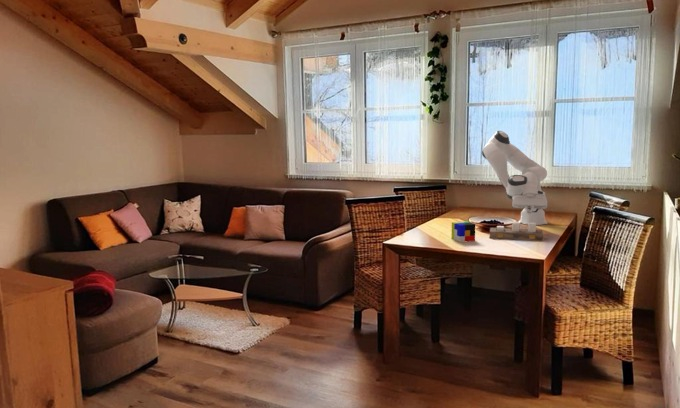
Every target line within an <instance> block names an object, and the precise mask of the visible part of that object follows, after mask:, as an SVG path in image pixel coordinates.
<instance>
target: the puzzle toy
mask: <svg viewBox="0 0 680 408" xmlns="http://www.w3.org/2000/svg"><path fill="white" fill-rule="evenodd" d="M451 240H454V241H456V242H458V241H459V243H464V242H465V241H467V242H475V241H476V223H473V222H470V221H468V220H466V221H456V222H455V221H452V222H451ZM465 243H466V242H465Z"/></svg>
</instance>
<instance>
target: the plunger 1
mask: <svg viewBox="0 0 680 408" xmlns="http://www.w3.org/2000/svg"><path fill="white" fill-rule="evenodd" d="M496 228H497V231H504V228H505V226H504V225H497V226H496Z"/></svg>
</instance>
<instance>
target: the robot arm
mask: <svg viewBox="0 0 680 408" xmlns="http://www.w3.org/2000/svg"><path fill="white" fill-rule="evenodd" d="M481 155H482V157H483V158H484V159H485V160H487V162H488V163H489V164H490V165H491V167H492V169H493V171H494V172H495V174H496V175H497V177H498V179H499V181H500V182H501V184H502V186H503V187H504V189H505V194H506V197H507V198H508V199H509V200H512V202H511V203H512V204H511V205H512V207H513V208H515V209H516V208H518V209H522V210H521V211H520V219H519V220H518V221H517V222H520V224H522V225H523V224H524V225H528V222H529V223H536V226H541V225H548V221H546V218H545V211H544V210H546V209H547V208H548V200H547V196H546V192H545V191H543V190H542V186H541V182H544V180H545V179H546V178H547V176H548V170H547V169H546V168H545V167H543V166H542V165H540V164H538V163H537V162H536V161H535V160H532V158H530V157H529V156H527V155H526V154H525V153H524V152H523V151H522V150H520V149H519V148H518V147H517V146H515V145H514V144H512V143H511V141H510V137H509V135H508V134H507V133H506V132H504V131H502V130H496V131H495V132H494V133H493V135H492V136H491V137H490V139H488V141H487V142H486V144H485V145H484V146H483V148H482V150H481ZM508 163H509V164H510V165H511V166H512V167H513V168H514V169H515V170H517V171H519V172H521V174H512V175H511V176H510V175H509V172H508ZM543 209H544V210H543Z"/></svg>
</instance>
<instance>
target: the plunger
mask: <svg viewBox="0 0 680 408" xmlns="http://www.w3.org/2000/svg"><path fill="white" fill-rule="evenodd" d="M527 225H528V228H527V229H528V232H536V230H537V225H536V223H529V222H528V224H527Z"/></svg>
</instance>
